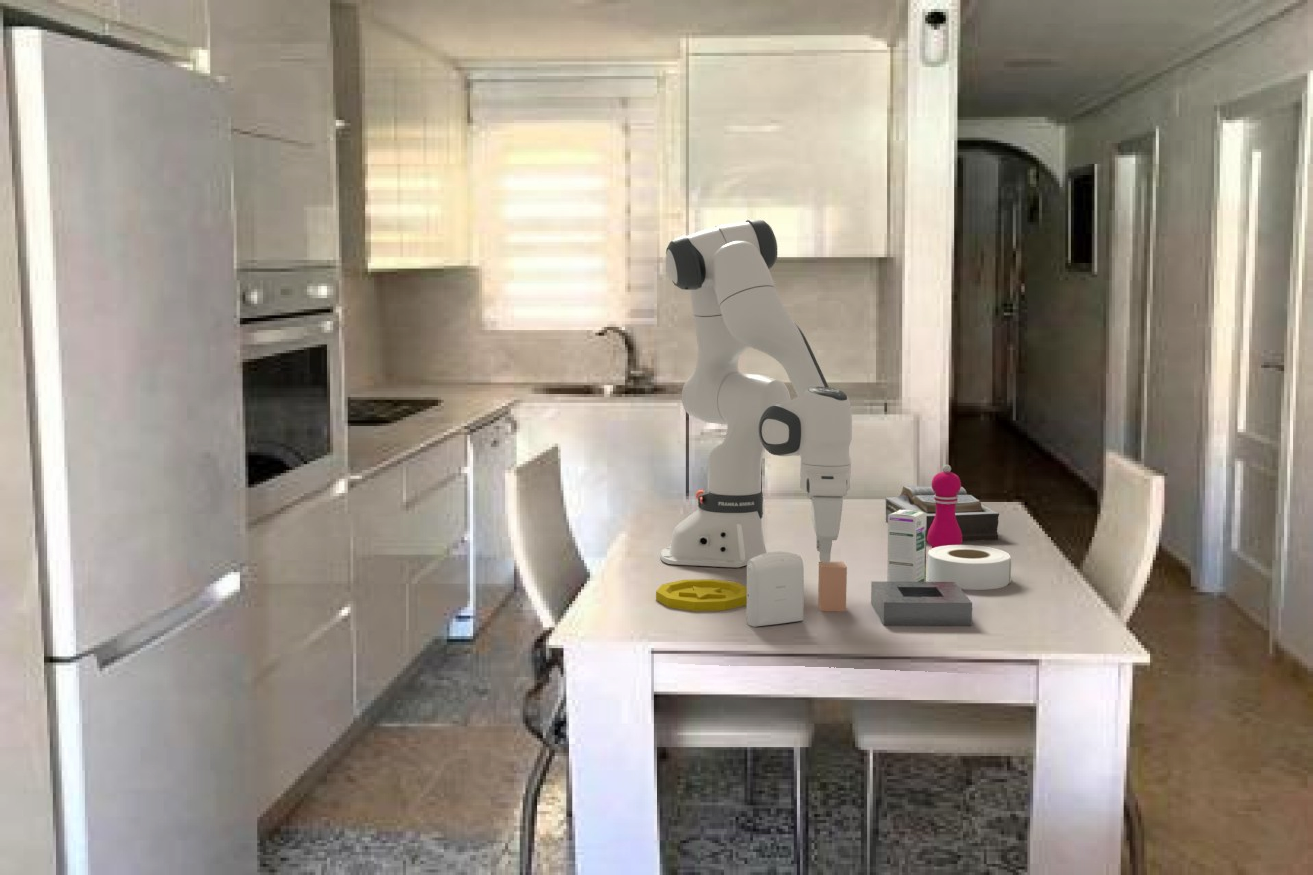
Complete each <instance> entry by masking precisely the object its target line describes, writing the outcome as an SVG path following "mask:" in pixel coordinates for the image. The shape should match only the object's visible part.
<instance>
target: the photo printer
mask: <svg viewBox="0 0 1313 875" xmlns="http://www.w3.org/2000/svg"><path fill="white" fill-rule="evenodd" d="M804 568H805V567H804V561H803V558H802V557H801V555H800V554H797V553H795V552H790V551H781V550H780V551H779V550H778V551H769V552H767V553H764V554H761V555H758V556H756V557H754V558H752V559H750V560H749V561H748V563H747V565H746V587H747V604H746V620H747V621H746V622H747V624H748V626H751V627H753V628H755V627H757V628H758V627H763V626H770V625H771V626H772V625H779V624H787V623H794V622H795V623H796V622H802V621H803V620H804V601H805V600H804V597H805V596H804V592H805V591H804V590H805V589H804V588H805V587H804V586H805V584H804V583H805V582H804V580H805V576H804V573H805V572H804V571H805V570H804Z"/></svg>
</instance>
